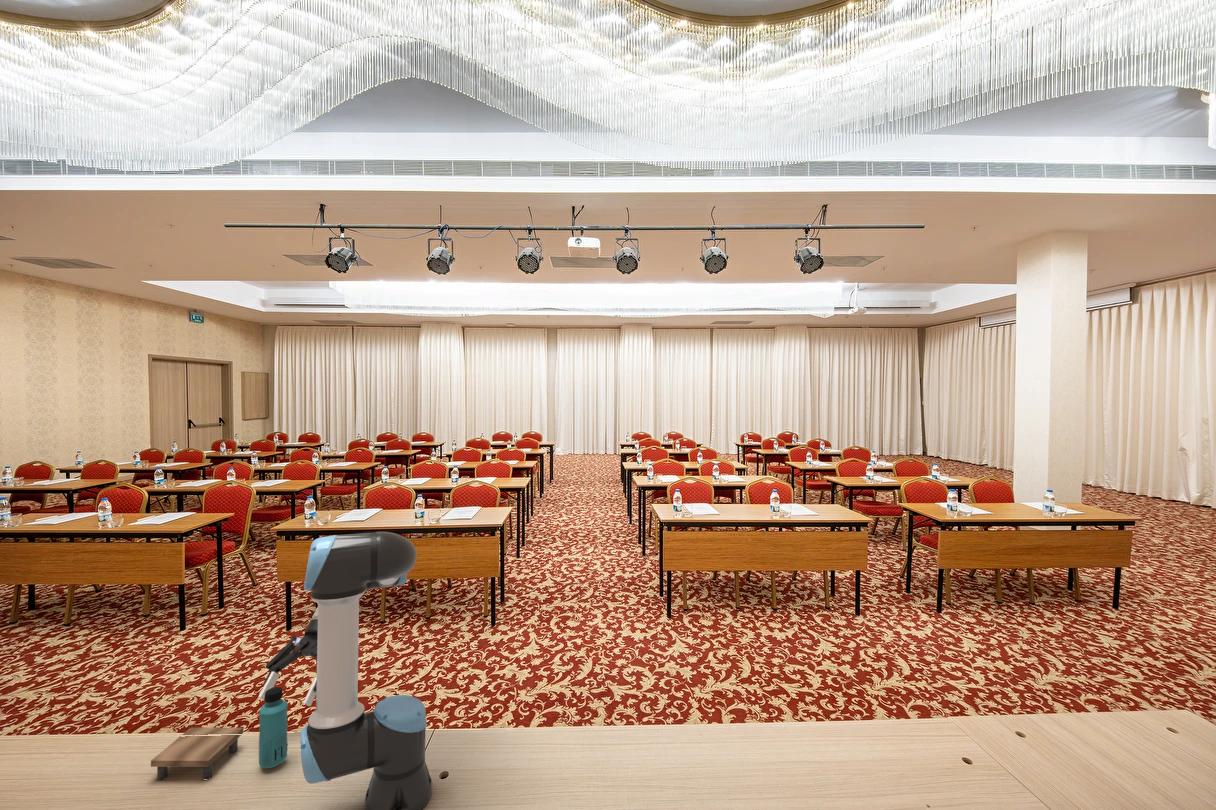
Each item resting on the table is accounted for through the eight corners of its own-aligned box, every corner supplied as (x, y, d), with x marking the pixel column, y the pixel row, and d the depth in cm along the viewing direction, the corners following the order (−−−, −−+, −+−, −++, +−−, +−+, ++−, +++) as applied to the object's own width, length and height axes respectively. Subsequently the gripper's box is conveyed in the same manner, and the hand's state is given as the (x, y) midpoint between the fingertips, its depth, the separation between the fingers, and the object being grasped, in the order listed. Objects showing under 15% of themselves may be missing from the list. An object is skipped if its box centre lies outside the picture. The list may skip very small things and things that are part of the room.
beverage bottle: (273, 776, 133) (274, 698, 133) (251, 772, 134) (252, 695, 134) (293, 759, 139) (294, 685, 139) (272, 755, 141) (273, 681, 140)
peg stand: (242, 747, 143) (243, 727, 143) (208, 782, 130) (208, 760, 130) (190, 747, 143) (190, 727, 143) (150, 782, 130) (150, 760, 130)
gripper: (367, 632, 156) (332, 711, 142) (293, 623, 160) (252, 700, 146) (356, 621, 151) (318, 703, 136) (280, 613, 155) (235, 691, 140)
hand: (284, 701), depth 141 cm, fingers open, 13 cm apart
